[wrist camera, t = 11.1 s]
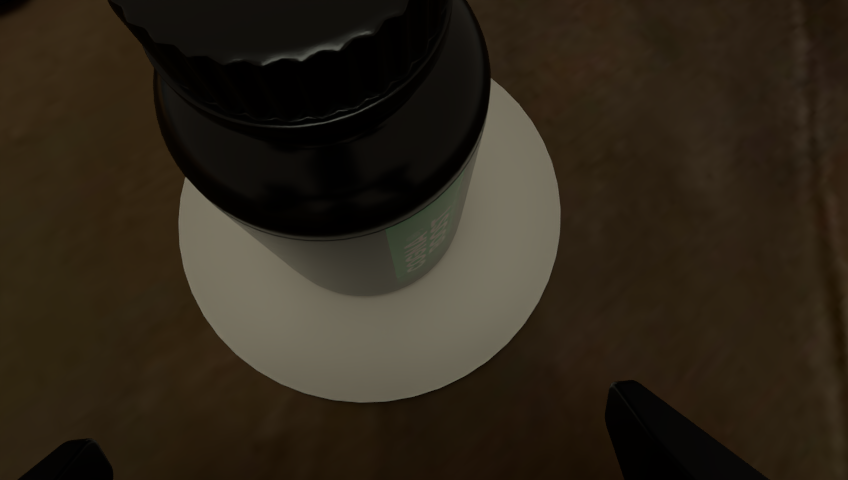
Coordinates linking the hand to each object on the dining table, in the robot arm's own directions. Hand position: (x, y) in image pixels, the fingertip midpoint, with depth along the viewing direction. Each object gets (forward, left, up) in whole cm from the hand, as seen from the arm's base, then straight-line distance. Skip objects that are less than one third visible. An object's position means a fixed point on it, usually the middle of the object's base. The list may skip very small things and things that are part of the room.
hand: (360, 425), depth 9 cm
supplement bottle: (+7, -1, -8) cm, 11 cm away
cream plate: (+7, -1, -9) cm, 11 cm away
